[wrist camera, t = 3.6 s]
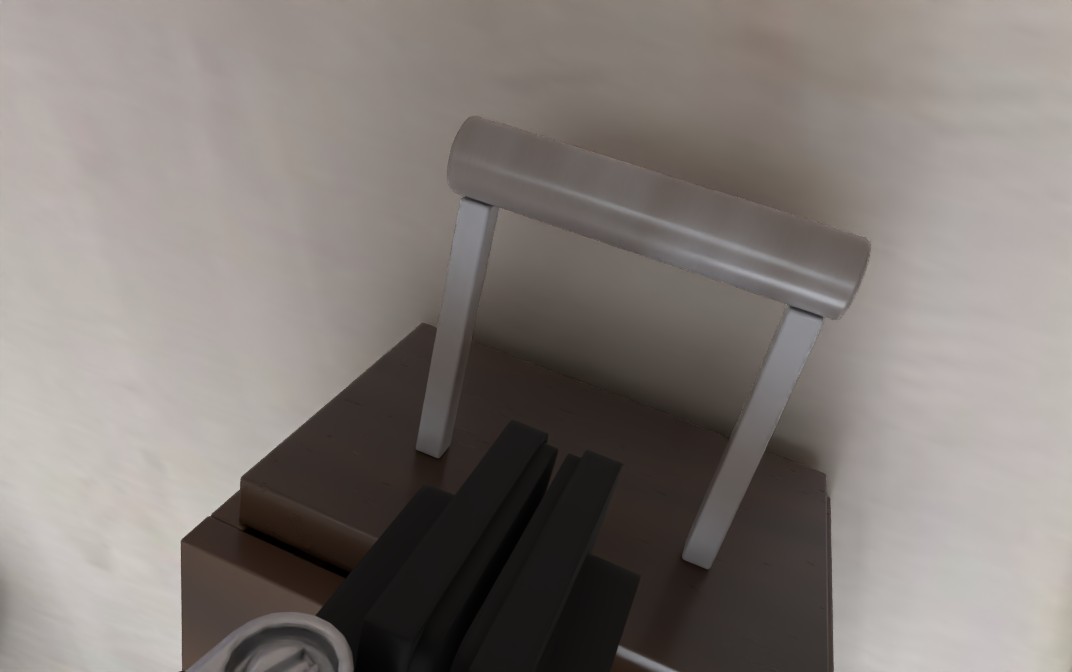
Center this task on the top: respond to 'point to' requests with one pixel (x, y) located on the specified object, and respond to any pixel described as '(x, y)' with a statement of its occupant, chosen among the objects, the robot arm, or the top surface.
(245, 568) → the cabinet
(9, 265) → the top surface
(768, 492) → the drawer
